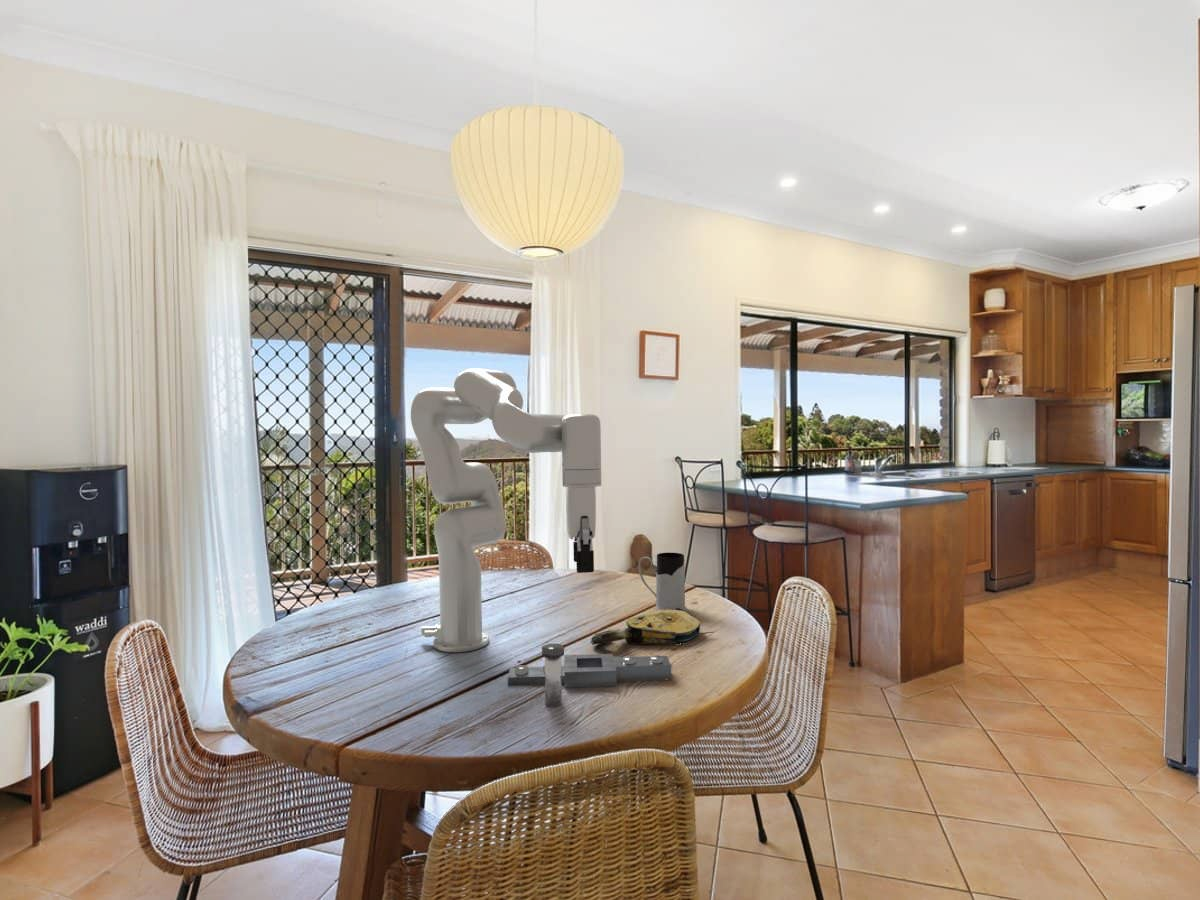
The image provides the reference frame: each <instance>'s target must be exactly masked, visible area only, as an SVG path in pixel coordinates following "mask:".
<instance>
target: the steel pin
mask: <svg viewBox="0 0 1200 900" xmlns="http://www.w3.org/2000/svg"><path fill="white" fill-rule="evenodd" d="M564 655H565V647H564V645H562V644H560V643H547V644H544V645H542V646H541V656H542V657H544V665H545V684H544V703H545V706H547V707H549V708H552V707H554V708H555V707H559V706H561V705H562V704H563V702H562V701H563V699H562V695H563V693H562V692H563V691H562V690H563V688H562V687H563V686H562V684H563V683H562V672H561V666H562V657H563V656H564Z"/></svg>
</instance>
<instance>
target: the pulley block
mask: <svg viewBox="0 0 1200 900" xmlns="http://www.w3.org/2000/svg"><path fill="white" fill-rule="evenodd" d="M701 625H702V623H701V621H699V620H698V618H696V616H695V615H694V614H692V613H691V612H690V611H688V610H683V609H680V608H676V610H657V611H656V610H653V611H648V612H645V613H643V614H640V615H638V616H635V617H632V618H629V619H628V620H627V621H626V626H627V628H618V629H617V628H615V629H608V630H605V631H601V632H598V633H595V634H594V635H593V636H592V638H591V639H590V640H591V641H590V642H589V643H590V644H591V645H593V646H595V645H601V644H605V643H612V642H618V641H622V640H625V641H626V642H627V643H629V644H633V645H656V646H657V645H659V646H677V645H676V644H680V643H681V645H684V644H683V643H686V644H689V643H692V642H693V641H694V642H695V640H697V639H698V638H699V635H707V634H711V633H712V634H713V633H715V632H716V631H706V632H705V631H704V632H700V631H701V628H700V627H701ZM691 641H692V642H691ZM688 642H689V643H688Z"/></svg>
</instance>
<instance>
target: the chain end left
mask: <svg viewBox="0 0 1200 900" xmlns="http://www.w3.org/2000/svg"><path fill="white" fill-rule="evenodd" d="M589 667H602V666H601V665H584V666H577V668H589ZM561 672H562V684H564V689H565V688H566V689H567V688H592V687H593V688H594V687H595V688H596V687H617V682H616V678H612V679H580V680H565V679H564V665H561ZM523 685H530V686H531V685H545V664H544V665H543V666H528V665H525V664H523V665H522V664H521V665H516V666H515V667H510V668H509V671H508V675H507V686H523Z"/></svg>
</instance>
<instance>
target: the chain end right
mask: <svg viewBox="0 0 1200 900" xmlns="http://www.w3.org/2000/svg"><path fill="white" fill-rule="evenodd" d="M563 656H564V663H563V664H564V665H563V666H564V679H565V680H580V679H612V678H616V683H617V682H618V683H620V682H621V683H622V682H651V681H650V680H658V681H666V680H665V679H671V680H672V664H671V662H670V659H669V658H668V655H656V654H655V655H650V656H646V655H645V656H643V655H642V656H632V655H631V656H629V655H626V656H619V657H618V656H617V657H616V656H615V657H614V654H613V653H601V654H600V653H599V654H598V653H594V654H592V653H591V654H567V655H566V654H564V655H563ZM584 665H601V666H602V667H589V668H577V666H584Z"/></svg>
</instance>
